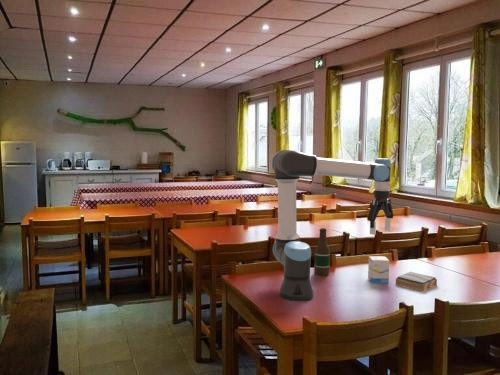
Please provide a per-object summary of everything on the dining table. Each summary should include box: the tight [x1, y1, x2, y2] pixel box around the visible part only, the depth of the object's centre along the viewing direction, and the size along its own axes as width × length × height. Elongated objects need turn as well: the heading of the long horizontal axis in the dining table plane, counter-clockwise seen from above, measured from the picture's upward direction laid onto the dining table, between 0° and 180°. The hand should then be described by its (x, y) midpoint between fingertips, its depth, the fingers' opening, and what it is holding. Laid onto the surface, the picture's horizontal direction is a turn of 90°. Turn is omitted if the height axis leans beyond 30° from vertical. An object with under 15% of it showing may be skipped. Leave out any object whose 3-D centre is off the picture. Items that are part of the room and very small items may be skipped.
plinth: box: [395, 271, 438, 292], centre depth 227 cm, size 14×14×4 cm
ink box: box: [367, 255, 390, 284], centre depth 233 cm, size 9×8×12 cm
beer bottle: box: [313, 228, 331, 277], centre depth 243 cm, size 8×8×24 cm
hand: (380, 232), depth 231 cm, fingers open, 13 cm apart
